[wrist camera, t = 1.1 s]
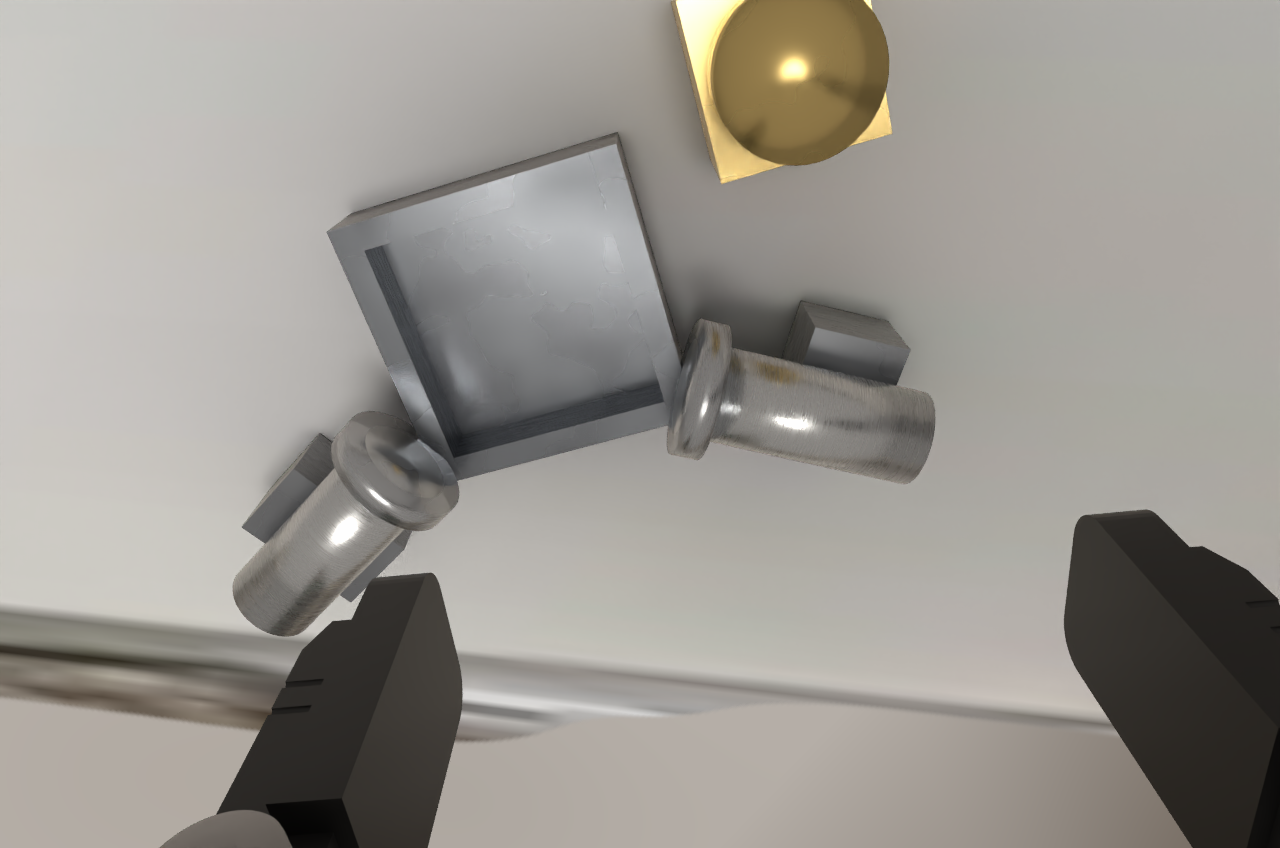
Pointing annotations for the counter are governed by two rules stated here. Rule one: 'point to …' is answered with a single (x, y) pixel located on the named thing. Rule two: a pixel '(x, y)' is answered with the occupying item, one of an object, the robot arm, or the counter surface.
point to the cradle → (518, 308)
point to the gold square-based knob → (784, 79)
